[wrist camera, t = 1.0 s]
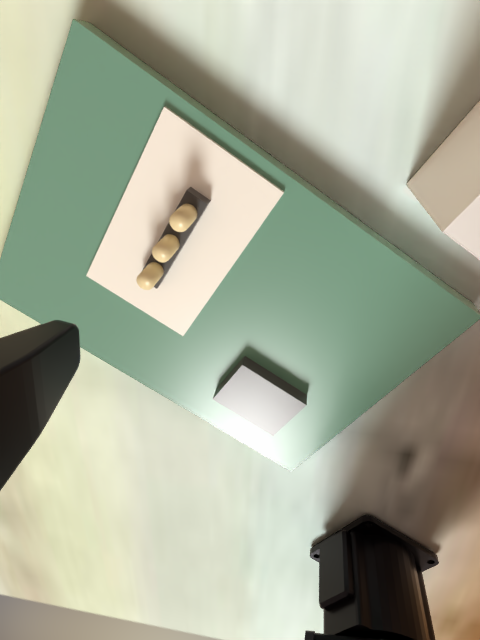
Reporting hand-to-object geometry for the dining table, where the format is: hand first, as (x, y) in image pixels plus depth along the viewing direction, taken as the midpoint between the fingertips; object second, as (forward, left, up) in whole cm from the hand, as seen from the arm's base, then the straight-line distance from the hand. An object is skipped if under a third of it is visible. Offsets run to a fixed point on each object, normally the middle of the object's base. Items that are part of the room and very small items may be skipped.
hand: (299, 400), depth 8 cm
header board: (+1, +6, -12) cm, 14 cm away
